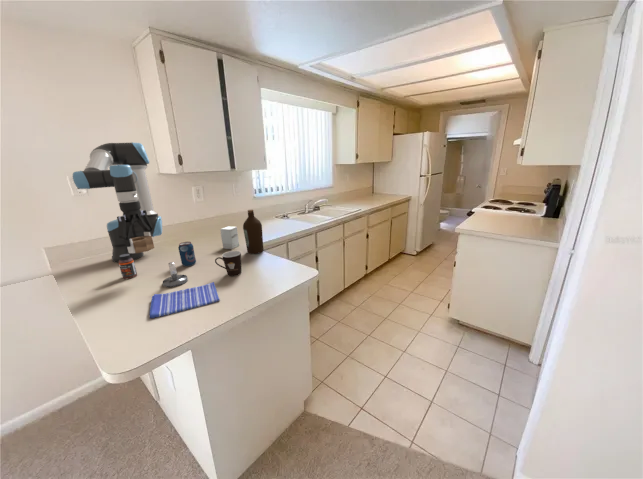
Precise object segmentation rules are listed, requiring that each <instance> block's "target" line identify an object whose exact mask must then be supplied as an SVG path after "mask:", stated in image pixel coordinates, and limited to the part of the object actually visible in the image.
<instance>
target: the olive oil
mask: <svg viewBox="0 0 643 479" xmlns="http://www.w3.org/2000/svg"><path fill="white" fill-rule="evenodd" d="M242 230H243V235H244V240H245V244H246V252H247V254H250V255H257V254H261V253H263V252H264V239H263V225H262V222H261V221H260V220H259V219H258V218H257V217H256V216H255V212H254V209H248V210H247V218H246V219H245V221H244V222H243V225H242Z"/></svg>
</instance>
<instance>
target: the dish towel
mask: <svg viewBox="0 0 643 479" xmlns="http://www.w3.org/2000/svg"><path fill="white" fill-rule="evenodd" d="M217 302H220V297H219V294H218V290H217V287H216V285H215V282H214V281H213V282H210V283H207V284H203V285H200V286H194V287H189V288H185V289H180V290H174V291H173V292H167V293H166V292H165V293H157V294H156V293H155V294H153V295H152V297H151V301H150V308H149V318H150V319H152V318H153V319H155V317H156V318H159V317H160V316H161V317H165V316H164V315H166V316H169V314H170V315H173V313H174V314H177V313H181V312H185V311H188V309H189V310H193V309H197V308H201V307H204V306H208V305H211V304H214V303H217ZM196 307H197V308H196ZM180 311H181V312H180Z"/></svg>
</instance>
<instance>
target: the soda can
mask: <svg viewBox="0 0 643 479" xmlns="http://www.w3.org/2000/svg"><path fill="white" fill-rule="evenodd" d="M178 253H179V257H180V262H181V265H182V266H183V267H186V266H187V267H192V266H194V265H195V264H196V262H197V259H196V254H195V249H194V245H193V243H192V242H191V241H183V242H180V243H179V244H178Z"/></svg>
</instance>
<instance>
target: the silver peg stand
mask: <svg viewBox="0 0 643 479" xmlns="http://www.w3.org/2000/svg"><path fill="white" fill-rule="evenodd" d="M168 267H169V273H170V276H169V277H167V278H165V279H164V280H162V285H163V287H164V288H168V289H169V288H176V287H179V286H183V285H184V284H186V283H187V282H188V281H189V278H188V275H186V274H178V272H177V269H176V264H175V262H174V261H172V262H169V263H168Z"/></svg>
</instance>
